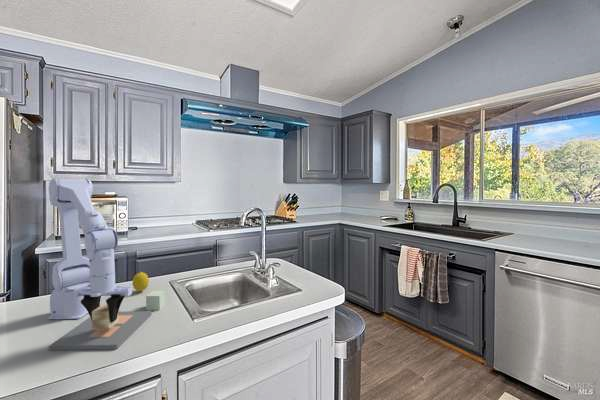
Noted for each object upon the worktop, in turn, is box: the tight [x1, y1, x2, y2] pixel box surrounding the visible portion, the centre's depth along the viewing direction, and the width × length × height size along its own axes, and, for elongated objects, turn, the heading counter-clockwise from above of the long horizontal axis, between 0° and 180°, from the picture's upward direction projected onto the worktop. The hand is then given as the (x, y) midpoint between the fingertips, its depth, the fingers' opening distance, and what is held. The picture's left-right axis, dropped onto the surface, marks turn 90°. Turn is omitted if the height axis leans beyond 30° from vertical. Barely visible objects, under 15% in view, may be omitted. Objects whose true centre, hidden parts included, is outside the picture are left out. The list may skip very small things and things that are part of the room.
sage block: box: [145, 290, 166, 311], centre depth 99 cm, size 4×4×5 cm
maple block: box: [92, 304, 118, 330], centre depth 81 cm, size 4×4×5 cm
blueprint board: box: [48, 310, 152, 351], centre depth 83 cm, size 17×19×1 cm
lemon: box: [132, 271, 150, 293], centre depth 112 cm, size 6×6×8 cm
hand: (104, 320), depth 80 cm, fingers closed on maple block, 4 cm apart
